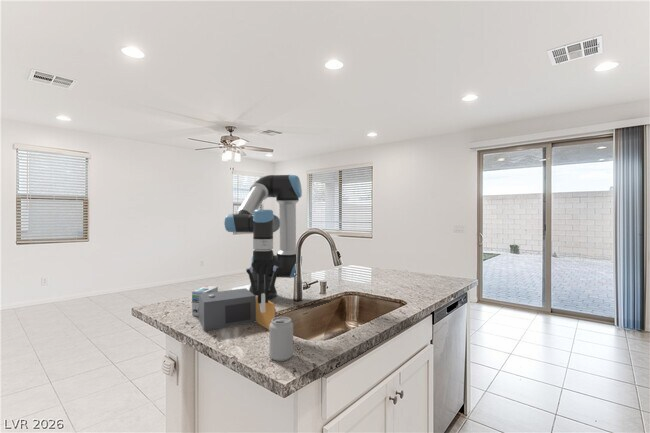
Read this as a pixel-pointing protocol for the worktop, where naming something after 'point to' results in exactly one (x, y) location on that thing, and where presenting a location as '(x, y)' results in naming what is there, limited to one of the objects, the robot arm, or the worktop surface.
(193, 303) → the light bulb box
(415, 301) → the worktop surface
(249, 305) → the grey microwave
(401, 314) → the worktop surface
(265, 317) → the orange cabinet door
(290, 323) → the can
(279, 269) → the robot arm
